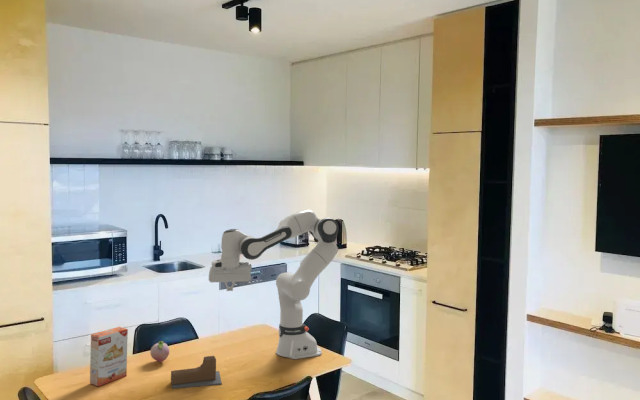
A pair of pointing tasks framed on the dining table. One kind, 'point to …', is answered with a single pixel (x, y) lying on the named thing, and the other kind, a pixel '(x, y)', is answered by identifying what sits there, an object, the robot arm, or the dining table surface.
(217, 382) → the charcoal rubber mat
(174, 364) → the dining table surface
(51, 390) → the dining table surface
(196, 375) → the wooden block
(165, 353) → the turnip
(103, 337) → the cracker box
